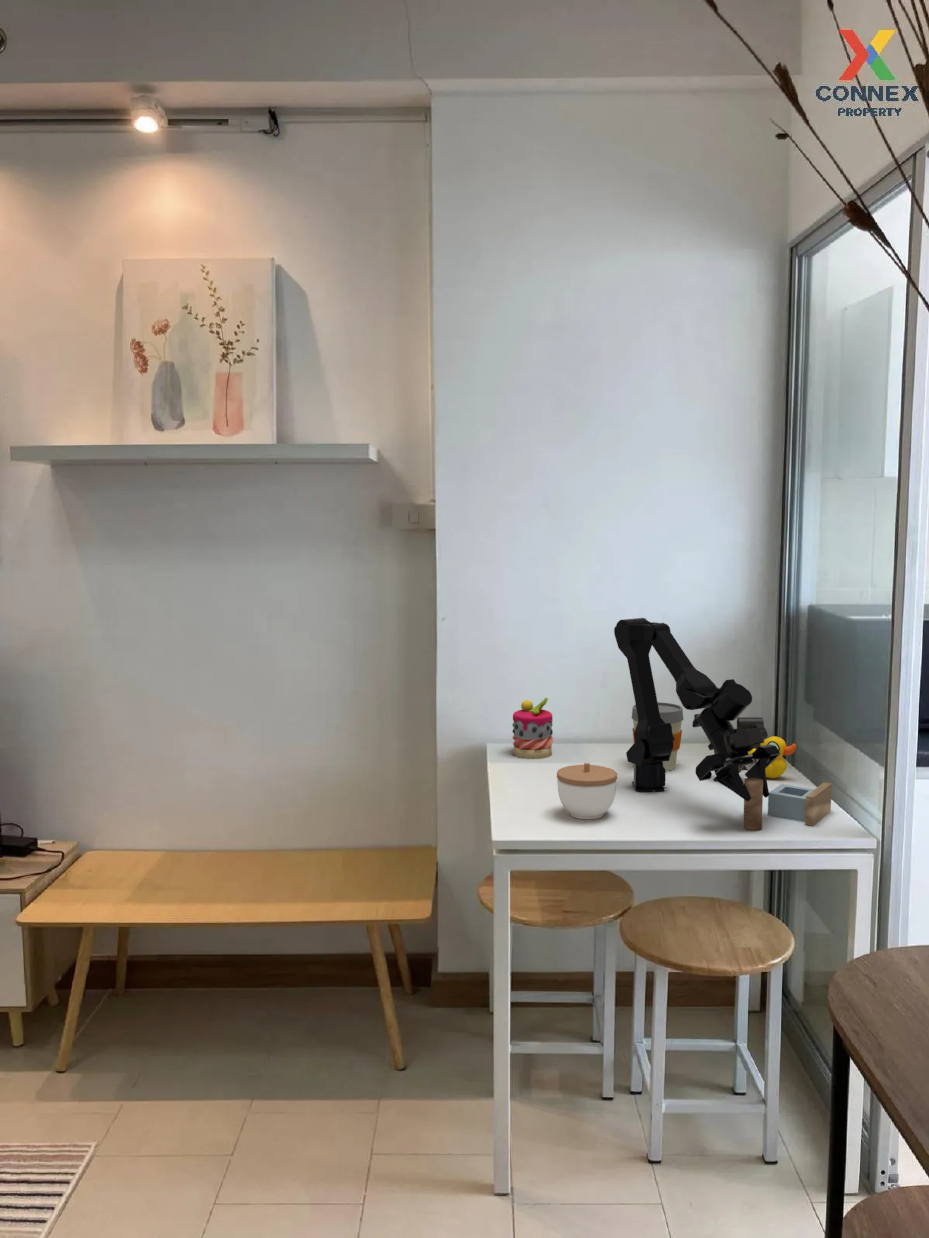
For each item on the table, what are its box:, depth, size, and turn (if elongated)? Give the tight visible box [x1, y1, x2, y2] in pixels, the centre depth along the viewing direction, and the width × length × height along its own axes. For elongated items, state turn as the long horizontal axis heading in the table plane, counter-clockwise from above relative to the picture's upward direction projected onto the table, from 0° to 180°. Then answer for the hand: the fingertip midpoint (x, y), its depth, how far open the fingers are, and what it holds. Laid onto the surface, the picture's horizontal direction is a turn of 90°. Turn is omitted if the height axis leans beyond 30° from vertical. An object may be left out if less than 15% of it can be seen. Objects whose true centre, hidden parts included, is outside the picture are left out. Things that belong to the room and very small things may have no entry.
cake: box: [512, 697, 554, 760], centre depth 267 cm, size 10×11×15 cm
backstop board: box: [804, 781, 833, 827], centre depth 214 cm, size 2×12×6 cm, turn 144°
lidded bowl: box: [556, 762, 618, 820], centre depth 217 cm, size 13×13×11 cm
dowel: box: [742, 777, 764, 832], centre depth 207 cm, size 4×4×10 cm
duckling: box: [748, 735, 797, 779], centre depth 243 cm, size 11×5×10 cm, turn 57°
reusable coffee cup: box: [631, 701, 684, 772], centre depth 253 cm, size 12×13×15 cm
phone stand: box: [736, 716, 765, 771], centre depth 254 cm, size 9×6×12 cm, turn 176°
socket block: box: [767, 783, 816, 823], centre depth 217 cm, size 8×8×5 cm
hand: (758, 798), depth 206 cm, fingers open, 5 cm apart
